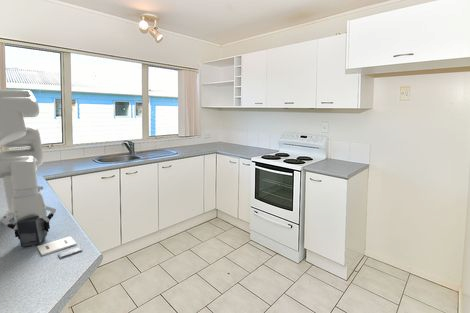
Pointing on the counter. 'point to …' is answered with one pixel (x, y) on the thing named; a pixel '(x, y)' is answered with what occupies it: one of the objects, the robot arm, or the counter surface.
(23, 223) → the small box
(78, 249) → the phone
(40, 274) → the counter surface
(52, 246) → the outlet plate
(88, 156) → the counter surface
